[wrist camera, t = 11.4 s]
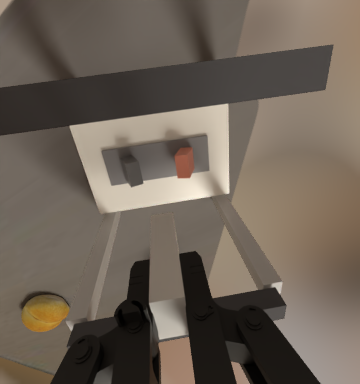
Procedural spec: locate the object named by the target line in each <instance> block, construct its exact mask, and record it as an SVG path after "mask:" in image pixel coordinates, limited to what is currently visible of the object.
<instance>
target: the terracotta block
mask: <svg viewBox="0 0 360 384" xmlns="http://www.w3.org/2000/svg"><path fill="white" fill-rule="evenodd" d="M175 163H176V171H177V178H190V177H191V175H192V173H193V171H194V159H193V148H192V147H186V148H180V149H179V150H178V152H177V153H176V154H175Z"/></svg>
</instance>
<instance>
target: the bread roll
mask: <svg viewBox="0 0 360 384" xmlns="http://www.w3.org/2000/svg"><path fill="white" fill-rule="evenodd" d="M69 310H70V308H69V306H68V304H67V303H66V302H65V300H64V299H63V298H61V297H59V296H56V295H38V296H35V297H33V298H32V299H30V300H29V301H28V302H27V303H26V305H25V306H24V308H23V310H22V315H21V318H22V321H23V323H24V325H25V326H26V327H27V328H28V329H30V330H32V331H37V332H43V331H48V330H51V329H53V328H55V327H56V326H58V325H59V323H60V322H61V321H62V320H63V319H64V318H65V317H66V316H67V315H68V313H69Z"/></svg>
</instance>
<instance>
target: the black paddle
mask: <svg viewBox="0 0 360 384" xmlns="http://www.w3.org/2000/svg"><path fill="white" fill-rule="evenodd" d="M120 161H121V165H122V169H123V173H124V177H125V180H126V181H127V182H128V184H129V185H130V186H131V187H135V186H138V185H141V184H144V183H143V179H142V174H141V170H140V165H139V161H138V160H137V159H136V158H135V157H133V156H132V155H130V156H126V157H122V158H120Z"/></svg>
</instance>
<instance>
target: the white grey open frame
mask: <svg viewBox="0 0 360 384" xmlns="http://www.w3.org/2000/svg"><path fill="white" fill-rule="evenodd" d="M69 127H70V130H71V133H72V135H73V138H74V141H75V144H76V147H77V150H78V152H79V155H80V158H81V161H82V164H83V167H84V170H85V172H86V175H87V178H88V181H89V184H90V187H91V190H92V192H93V195H94V198H95V201H96V204H97V207H98V210H99V212H100V214H104V213H105V216H104V218H103V221H102V224H101V226H100V229H99V232H98V235H97V237H96V240H95V243H94V245H93V248H92V251H91V253H90V256H89V259H88V262H87V264H86V267H85V270H84V272H83V275H82V278H81V280H80V283H79V286H78V289H77V291H76V294H75V297H74V299H73V302H72V305H71V307H70V310H69V313H68V316H67V318H66V323H67V325H68V326H69V328H70V330H71V331H72V329H73V326H74V324H76V323H82V322H87V321H93V320H95V316H96V312H97V308H98V304H99V300H100V296H101V292H102V288H103V284H104V280H105V276H106V272H107V268H108V264H109V260H110V256H111V252H112V248H113V244H114V240H115V236H116V232H117V228H118V224H119V220H120V216H121V212H120V211H123V210H129V209H136V208H142V207H148V206H154V205H161V204H167V203H173V202H179V201H185V200H192V199H198V198H204V197H210V196H212V200H213V202H214V204H215V206H216V208H217V210H218V212H219V214H220V216H221V218H222V220H223V222H224V224H225V226H226V228H227V230H228V232H229V234H230V236H231V237H232V239H233V241H234V243H235V245H236V247H237V249H238V251H239V253H240V255H241V257H242V259H243V261H244V263H245V265H246V267H247V269H248V271H249V273H250V274H251V276H252V278H253V280H254V282H255V284H256V286H257V288H258V290H262V289H267V288H273V287H276V289H277V291H278V292H279V294H281V288H282V280H281V278H280V277H279V276H278V274H277V272H276V271H275V269H274V268H273V266H272V265H271V263H270V262H269V260H268V259H267V257H266V256H265V254H264V253H263V251H262V250H261V248H260V247H259V245H258V243H257V242H256V240H255V239H254V237H253V236H252V235H251V233H250V231H249V230H248V228H247V227H246V225H245V224H244V222H243V221H242V219H241V218H240V216H239V215H238V213H237V212H236V210H235V209H234V207H233V206H232V204H231V202H230V201H229V199H228V198H227V196H226V195H225V194H229V133H228V104H221V105H214V106H207V107H200V108H193V109H186V110H179V111H171V112H164V113H157V114H150V115H143V116H136V117H129V118H122V119H114V120H107V121H100V122H93V123H86V124H79V125H72V126H69ZM186 147H192V148H193V159H194V171H193V173H192V175H191V177H190V178H177V171H176V163H175V154H176V153H177V152H178V150H179V149H180V148H186ZM130 155H132V156H133V157H135V158H136V159H137V160H138V161H139V165H140V170H141V174H142V179H143V183H144V184H141V185H138V186H135V187H131V186H130V185H129V184H128V182H127V181H126V180H125V177H124V173H123V169H122V165H121V161H120V158H122V157H126V156H130Z"/></svg>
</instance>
